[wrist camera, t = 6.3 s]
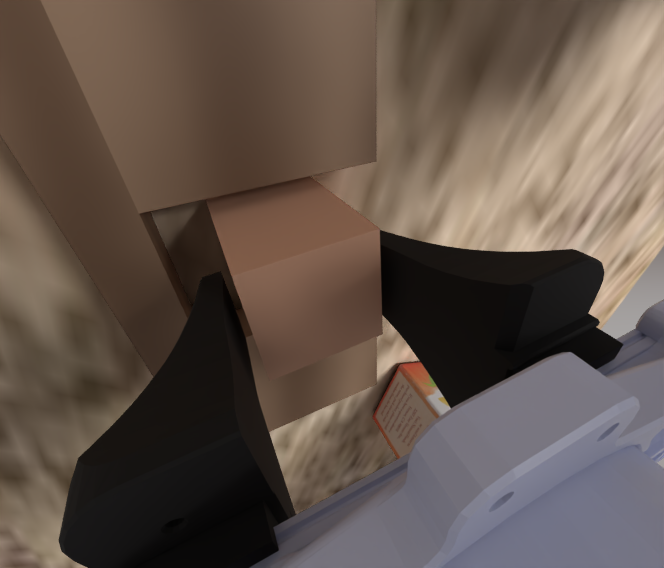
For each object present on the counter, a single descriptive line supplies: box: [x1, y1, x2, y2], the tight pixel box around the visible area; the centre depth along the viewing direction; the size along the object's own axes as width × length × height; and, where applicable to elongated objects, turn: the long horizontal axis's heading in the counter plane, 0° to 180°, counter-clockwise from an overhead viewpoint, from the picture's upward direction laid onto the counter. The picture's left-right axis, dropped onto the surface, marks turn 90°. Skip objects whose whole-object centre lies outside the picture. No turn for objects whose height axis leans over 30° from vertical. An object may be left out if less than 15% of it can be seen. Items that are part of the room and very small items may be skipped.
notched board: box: [0, 0, 377, 432], centre depth 13 cm, size 10×20×2 cm, turn 6°
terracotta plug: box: [206, 176, 383, 381], centre depth 12 cm, size 4×4×6 cm
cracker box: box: [373, 362, 451, 459], centre depth 20 cm, size 14×6×21 cm, turn 72°
